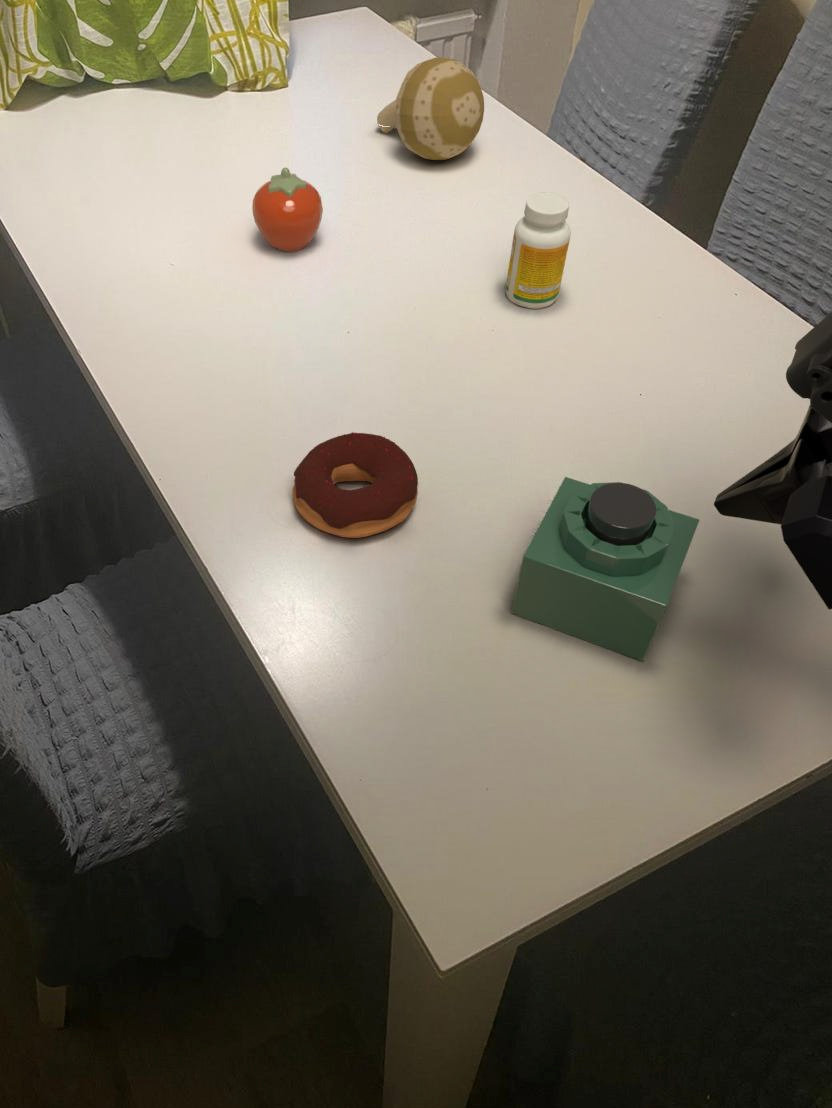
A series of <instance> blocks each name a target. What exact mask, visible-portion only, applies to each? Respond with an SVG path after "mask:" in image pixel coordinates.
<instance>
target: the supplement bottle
mask: <svg viewBox="0 0 832 1108" xmlns="http://www.w3.org/2000/svg"><path fill="white" fill-rule="evenodd" d="M569 210H570V201H569V200H568V199H567V198H566V197H565V196H564V195H561V194H559V193H555V192H549V191H548V192H547V191H546V192H545V191H544V192H537V193H533V194H531V195H530V196H528V197H527V199H526V202H525V206H524V210H523V211H524V212H523V215H524V216H522V217H521V218H520V219H519V220H518V221H517V222H516V224H515V227H514V232H513V237H512V241H511V242H512V243H511V250H510V255H509V263H508V269H507V276H506V284H505V294H506V296H507V298H508V299H509V300H510V301H511V302H512V303H514V304H515V305H518V306H520V307H524V308H527V309H542V308H546V307H549V306H551V305H552V304H554V303H555V302H556V300H557V299H558V298H559V294H560V289H561V285H562V279H563V274H564V270H565V265H566V259H567V256H568V255H567V254H568V250H569V246H570V241H571V236H572V235H571V227H570V224H568V222H567V221H566V220H567V219H568V216H569Z"/></svg>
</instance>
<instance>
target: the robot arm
mask: <svg viewBox="0 0 832 1108" xmlns="http://www.w3.org/2000/svg"><path fill="white" fill-rule="evenodd" d="M794 349H795V352H794V354H793V357H792V361H791V363H790V365H789V366H788V367H787V369H786V372H785V379H786V382H787V384H788V386H789V388H790V389H791V390H792V391H793V392H794V393H795V394H796V395H798V396H799V397H800V398H801V399H807V400H809V406H808V408H807V411H806V414H805V416H804V419H803V421H802V423H801V425H800V427H799V430H798V432H797V434H796V436H795V438H794V439H792V441H790V442H789V443H788V444H787V445H785V446H784V447H782V448H781V449H780V450H779V451H778V452H776V453H775V454H773V455H772V456H771V457H769V458H768V459H767V460H764V462H762V463H760V464H759V465H758V466H757V467H755V468H754V469H751V470H750V471H749V472H748V473H746V474H745V475H743V476H742V477H741V478H739V479H738V480H736V481H735V482H734V483H732V484H731V485H729V486H728V487H726V488H725V489H723V490H722V491H721V492H719V493H718V494H717V495H716V496H715V500H714V502H713V506H714V508H716V510H717V512H718V513H719V514H720V515H721V516H724V517H731V518H737V519H743V520H749V521H756V522H761V523H762V522H763V523H769V524H776V525H780V530H781V535H782V539H783V542H784V544H785V546H786V547H787V548H788V550H789V551H790V553H791V555H792V556H793V558H794V560H795V561H796V562H797V564H798V565H799V567H800V568H801V570H802V571H803V573H804V574H805V576H806V577H807V579H808V580H809V582H810V583H811V585H812V586H813V588H814V589H815V591H816V593H817V594H818V596H819V597H820V599H821V600H822V602H823V603H824V604H825V606H826V608H827V610H832V311H831V312H830V313H829V314H828V315H826V316H825V317H824V318H823V319H822V320H821V321H819V322H818V323H817V324H816V325H814V327H813V328H812V329H810V330H809V331H808V332H807V333H806V334H805V335H803V336H802V337H801V338H800V339H799V340H798V341H797V342H796V343H795V346H794Z"/></svg>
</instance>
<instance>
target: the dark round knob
mask: <svg viewBox="0 0 832 1108" xmlns="http://www.w3.org/2000/svg"><path fill="white" fill-rule="evenodd" d="M608 483H609V482H608ZM642 489H643V488H641V487H638V486H637V485H634V484H631V483H626V482H622V483H621V482H620V483H609V484H605V485H603V486H601V487H599V488H597V489H596V490H595V491H594V492H593V494H592V495H591V498H590V502H589V505H588V509H587V513H586V517H585V522H586V526H587V528H588V530H589V531H590V532H591V533H592V534H593V535H594V536H595V537H597V538H598V539H599V540H602V541H605V542H608V543H611V544H614V545H617V546H624V545H635V544H638V543H640V542H642V541H643V540H644V539H645V538H646V537H647V536H648V534H649V532H650V529H651V526H652V524H653V521H654V518H655V515H656V504H655V502H654V500H653V498H652V497H651V496H650V495H649V494H648V493H647V492H645V491H644V490H645V489H644V490H642Z"/></svg>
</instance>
